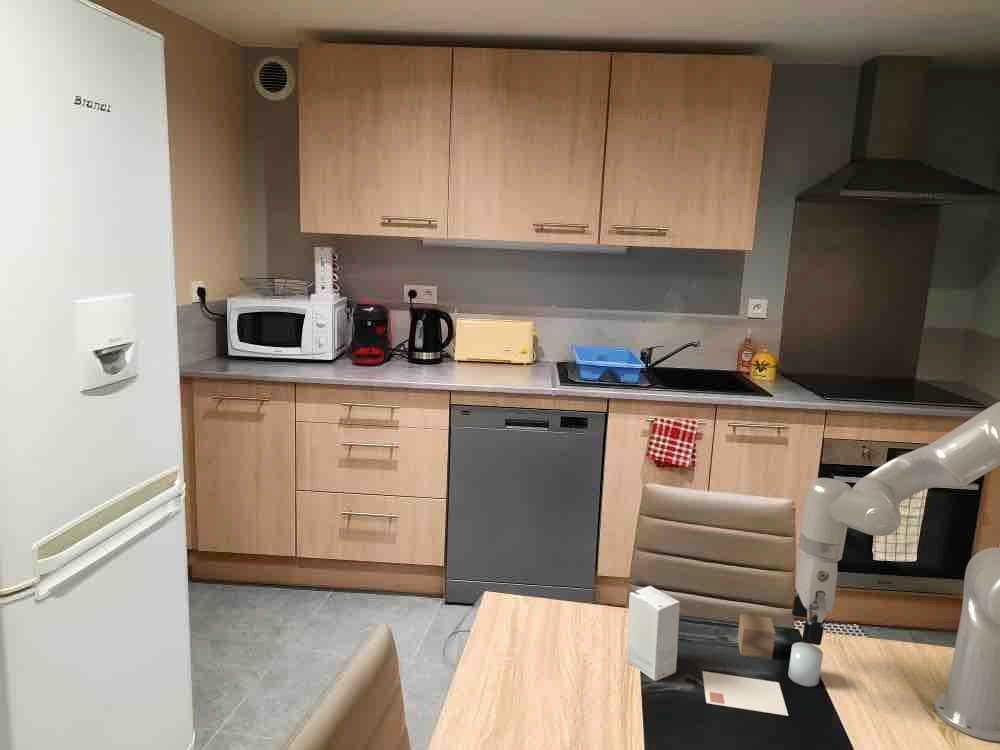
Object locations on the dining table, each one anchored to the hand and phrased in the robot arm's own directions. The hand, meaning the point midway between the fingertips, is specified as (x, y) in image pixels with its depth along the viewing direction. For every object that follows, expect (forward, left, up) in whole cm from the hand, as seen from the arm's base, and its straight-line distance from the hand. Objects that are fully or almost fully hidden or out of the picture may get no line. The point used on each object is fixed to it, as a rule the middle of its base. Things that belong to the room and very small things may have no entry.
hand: (805, 629), depth 142 cm
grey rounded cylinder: (-1, 0, -10) cm, 10 cm away
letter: (+11, +8, -10) cm, 17 cm away
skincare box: (+28, +4, -10) cm, 30 cm away
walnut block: (+7, -8, -10) cm, 15 cm away
